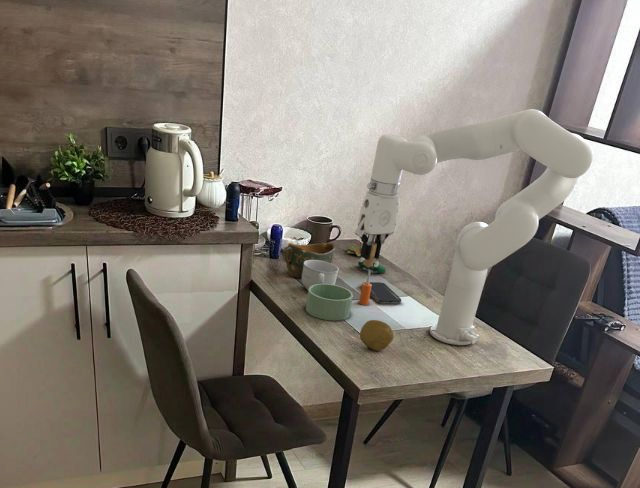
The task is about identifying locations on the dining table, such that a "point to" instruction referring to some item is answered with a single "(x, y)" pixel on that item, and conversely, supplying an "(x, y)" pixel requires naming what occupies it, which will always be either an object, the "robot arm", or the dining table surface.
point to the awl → (372, 255)
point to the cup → (306, 256)
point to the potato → (376, 334)
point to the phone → (383, 294)
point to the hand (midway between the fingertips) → (369, 257)
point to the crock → (329, 301)
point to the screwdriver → (365, 291)
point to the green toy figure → (374, 268)
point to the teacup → (318, 273)
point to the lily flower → (355, 249)
